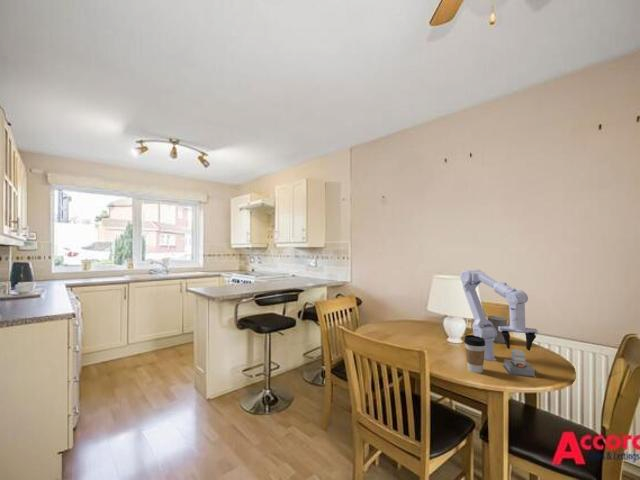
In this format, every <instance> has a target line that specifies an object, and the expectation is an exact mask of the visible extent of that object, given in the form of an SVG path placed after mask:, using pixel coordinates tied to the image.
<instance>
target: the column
mask: <svg viewBox="0 0 640 480" xmlns="http://www.w3.org/2000/svg"><path fill="white" fill-rule="evenodd" d="M510 354H511V360H512V361H511V362H512V364H513V365H514V366H518V365H524V367H526V365H525V362H526V353H525V352H524V351H523V350H522V349H512V348H511V352H510Z"/></svg>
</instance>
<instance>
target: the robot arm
mask: <svg viewBox="0 0 640 480" xmlns="http://www.w3.org/2000/svg"><path fill="white" fill-rule="evenodd" d="M460 281H461V283H462V287H463V288H462V289H463V291H464V294H465V297H466V300H467V303H468V305H469V308H470V311H471V314H472V318H473V320H474V322H473V323H472V325H471V326H472V334H473V336H478V337H481V338H483V339H484V340H485V346H484V349H485V351H484V361H492V362H496V361H497V359H496V357H495V356H494V355H495V354H494V353H495V351H494V348H495V347H494V345H495V342H493V340H494V338H495V337H496V336H497V331H496V329H495V327H494V326H493V324H492V322H490V321H489V320H488V318H487V316H486V314H485V312H484V308H483V306H482V303H481V300H480V297H479V295H478V292H477V290H476V289H477V287H478V286H479V285H480V284H481V283H483V284H485V285H487V286H489V287H491V288H492V289H493V291H494V293H496V294H497V295H499V296H501V297H503V298H504V299H505V300H506V302H507V304H508V308H509V325H507V326H498V330H499V331H500V332H501V333H502V335H503V337H504V340H505V342H506V343H505V346H506V349H508V350H509V349H510V347H511V343H510V339H511V338H510V337H511V334H510V333H517V334H519V333H520V334H524V336H525V342H526V343H525V349H526V350H527V351H529V352H530V351H531V347H532V344H533V342H534V341H535V339H536V337H537V335H538V334H539V332H538V328H531V327H526V303H527V302H528V301H529V298H528V295H527V293H526V292H525V291H523V289H522V290H521V289H520V290H517V289H516V288H515V287H512V286H510V285H508V284H507V282H504V281H500V282H498V281H496V280H495V279H494V278H492V277H490V276H489V275H488V274H486V273H485V271H482V270H480V269H471V270H463V271H462V272H461V274H460Z"/></svg>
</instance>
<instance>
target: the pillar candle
mask: <svg viewBox="0 0 640 480" xmlns="http://www.w3.org/2000/svg"><path fill="white" fill-rule="evenodd" d="M487 320H489V321H490V322H492V324H493V326H494V327H495V329H496V331H497V336H496V337H495V338H494V340H493V343H494V344H506V342H505V340H504V337H503V335H502V333H501V332H500V331H499V330H498V326H508V319H507V317H505V316H502V315H501V316H500V315H488V316H487Z"/></svg>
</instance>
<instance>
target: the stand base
mask: <svg viewBox="0 0 640 480" xmlns="http://www.w3.org/2000/svg"><path fill="white" fill-rule="evenodd" d="M511 361H512V359H505V358H504V359H503V365H502V367H503V368H504V369H505V371H506V373H508V375H509V376H520V377H528V378H537V377H538V376H536V375H535V374H536V372H535V368H533V366H531V364H529V362H528V361H526V360H525V361H526V362H525V365H526V367H524V365H518V366H514V365H513V364H512V362H511Z"/></svg>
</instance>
